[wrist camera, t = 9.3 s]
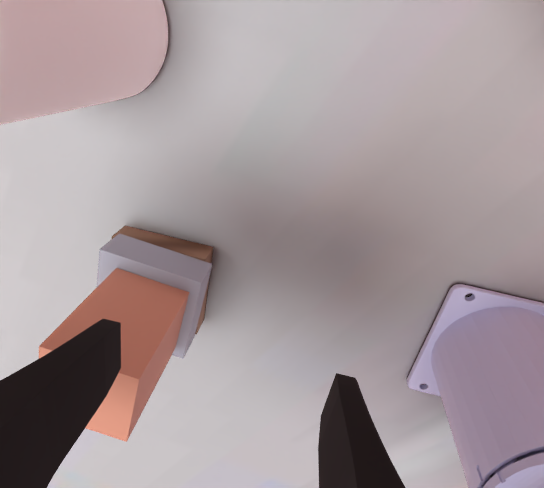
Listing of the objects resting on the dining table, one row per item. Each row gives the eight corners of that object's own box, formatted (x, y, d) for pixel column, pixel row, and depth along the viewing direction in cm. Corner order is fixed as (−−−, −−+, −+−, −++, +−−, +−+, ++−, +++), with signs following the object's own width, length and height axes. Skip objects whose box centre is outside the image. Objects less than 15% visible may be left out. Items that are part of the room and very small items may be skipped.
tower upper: (212, 263, 21) (201, 282, 20) (194, 336, 24) (183, 358, 22) (119, 233, 21) (99, 249, 20) (110, 308, 24) (93, 329, 22)
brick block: (189, 292, 20) (139, 379, 15) (175, 346, 22) (126, 441, 17) (116, 267, 20) (38, 346, 15) (108, 324, 22) (37, 412, 16)
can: (109, 123, 20) (-141, 200, 10) (16, 7, 18) (-419, -56, 8) (199, 44, 18) (1, 31, 7) (104, -98, 16) (-348, -393, 5)
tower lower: (215, 243, 23) (205, 259, 21) (205, 315, 26) (196, 334, 24) (128, 222, 23) (111, 236, 22) (127, 295, 26) (112, 313, 24)
